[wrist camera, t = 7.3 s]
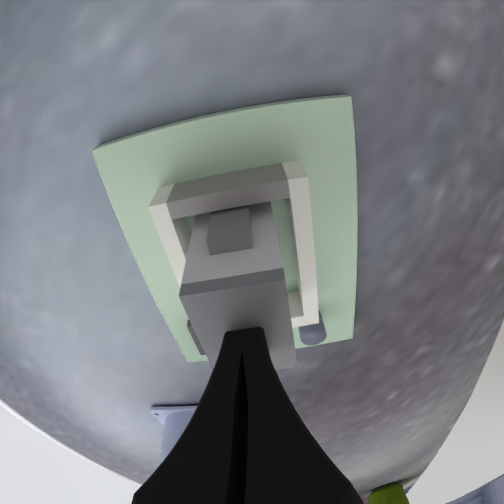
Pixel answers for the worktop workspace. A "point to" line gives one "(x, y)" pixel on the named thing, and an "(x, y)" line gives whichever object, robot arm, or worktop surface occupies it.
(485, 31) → the worktop surface
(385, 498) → the apple
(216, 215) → the plug
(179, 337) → the board
